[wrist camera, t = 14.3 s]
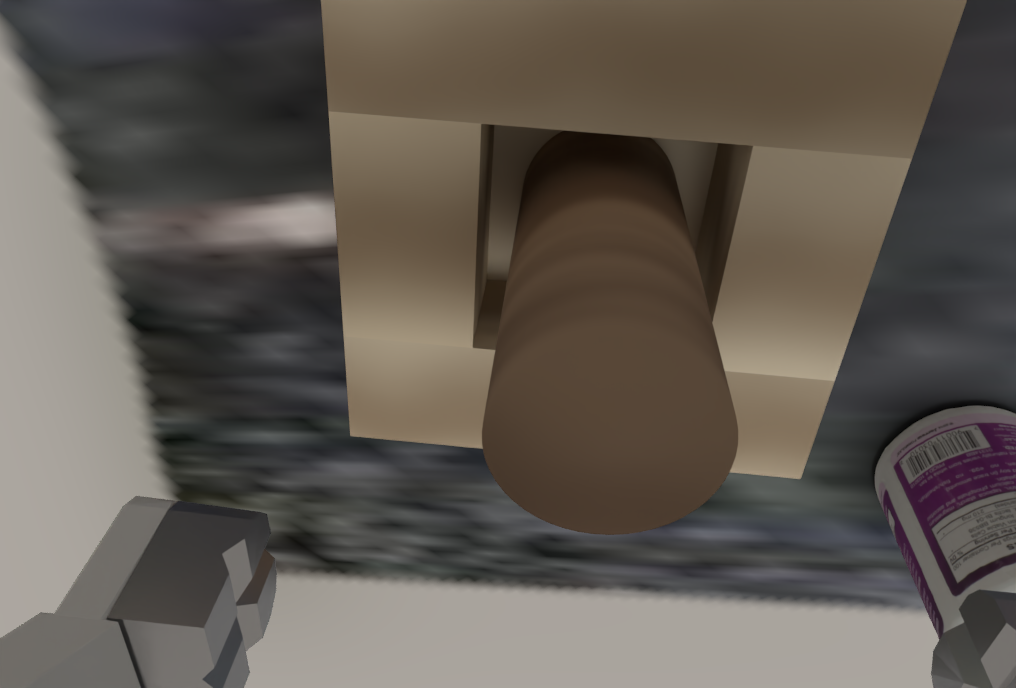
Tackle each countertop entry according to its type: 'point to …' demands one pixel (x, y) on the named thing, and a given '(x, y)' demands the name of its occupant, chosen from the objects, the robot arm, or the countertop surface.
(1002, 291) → the countertop surface
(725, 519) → the countertop surface
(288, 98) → the countertop surface
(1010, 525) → the pill bottle
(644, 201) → the peg
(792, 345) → the socket block
